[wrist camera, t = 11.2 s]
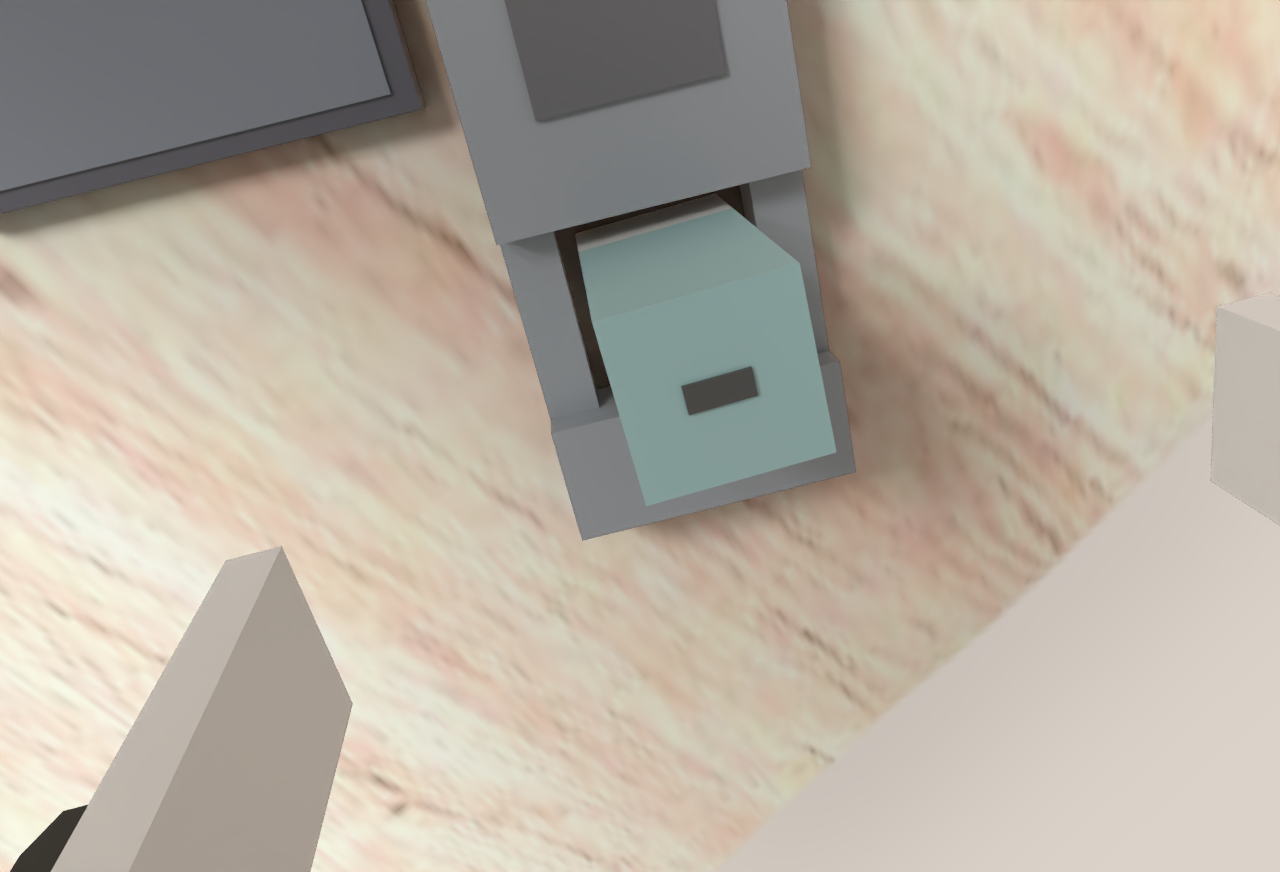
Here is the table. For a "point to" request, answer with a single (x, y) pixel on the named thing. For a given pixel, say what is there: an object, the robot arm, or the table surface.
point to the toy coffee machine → (629, 186)
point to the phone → (183, 84)
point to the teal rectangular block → (704, 347)
